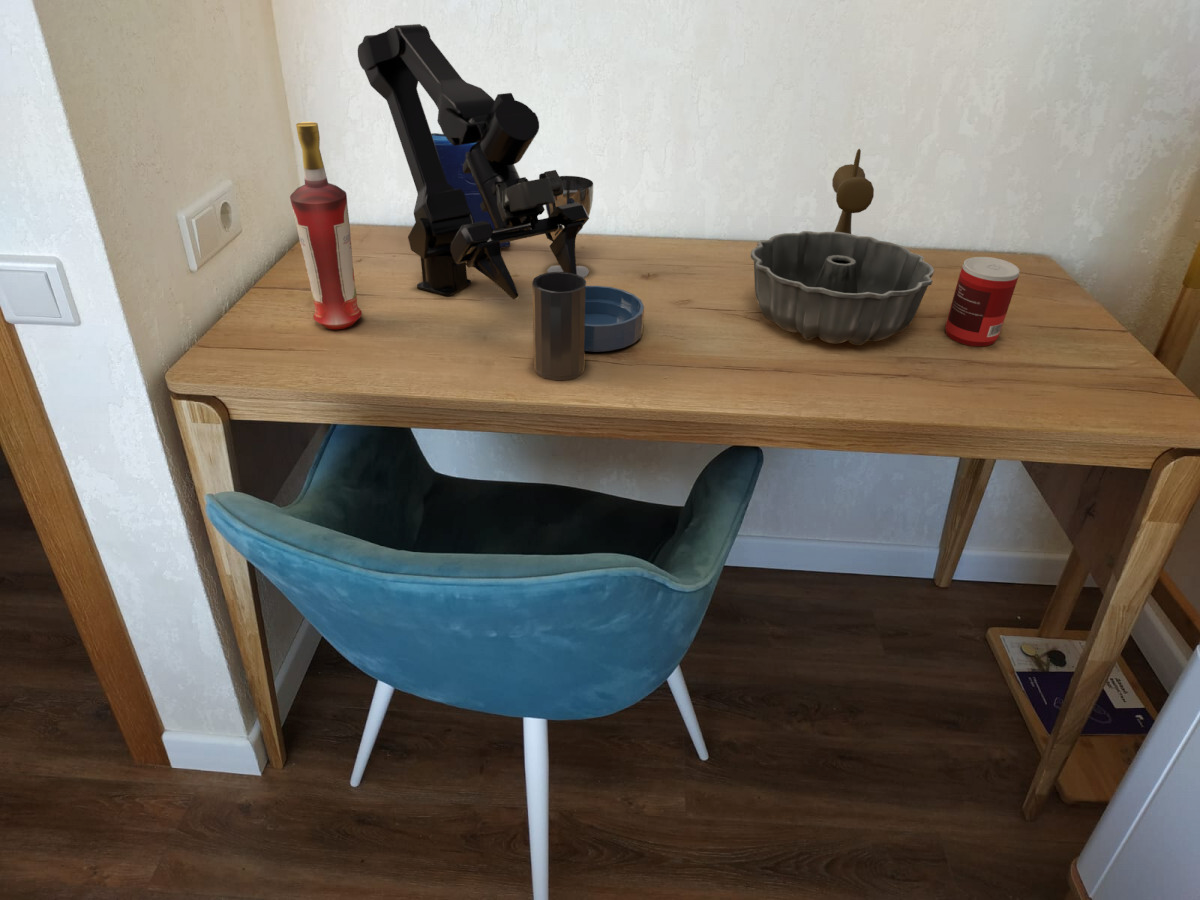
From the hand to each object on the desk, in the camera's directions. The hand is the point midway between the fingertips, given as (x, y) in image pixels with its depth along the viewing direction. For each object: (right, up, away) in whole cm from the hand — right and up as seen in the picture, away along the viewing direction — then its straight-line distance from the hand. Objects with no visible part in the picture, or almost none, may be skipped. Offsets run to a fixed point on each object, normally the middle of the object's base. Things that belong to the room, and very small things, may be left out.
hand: (546, 290), depth 109 cm
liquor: (-32, -2, +14) cm, 34 cm away
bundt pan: (+42, -1, +19) cm, 46 cm away
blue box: (-16, +15, +40) cm, 45 cm away
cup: (+2, -10, +4) cm, 11 cm away
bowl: (+6, -4, +13) cm, 15 cm away
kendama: (+49, +12, +39) cm, 64 cm away
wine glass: (+2, +9, +32) cm, 34 cm away
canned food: (+63, -4, +16) cm, 65 cm away
